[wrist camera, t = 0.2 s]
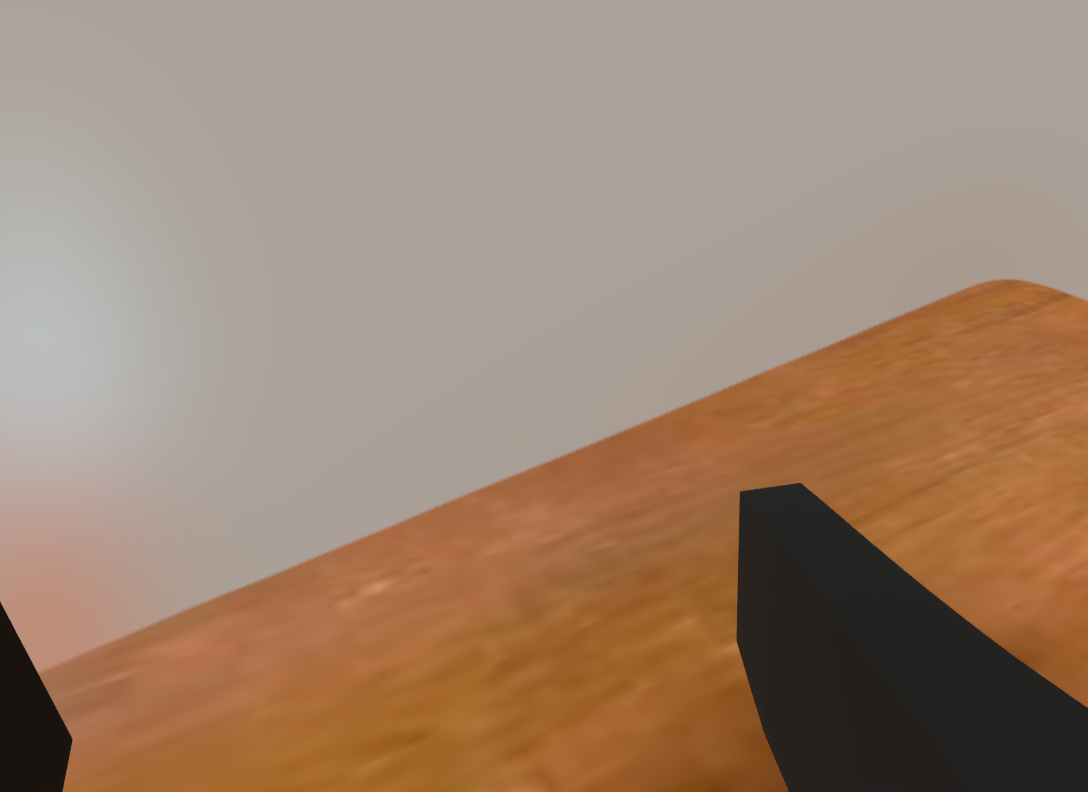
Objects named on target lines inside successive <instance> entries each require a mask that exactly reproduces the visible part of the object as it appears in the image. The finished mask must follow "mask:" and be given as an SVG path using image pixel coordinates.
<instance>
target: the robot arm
mask: <svg viewBox="0 0 1088 792" xmlns="http://www.w3.org/2000/svg"><path fill="white" fill-rule="evenodd" d="M737 643H738V647H739V650H740V654H741V657H742V660H743V664H744V667H745V671H746V674H747V678H748V681H749V684H750V688H751V691H752V695H753V698H754V701H755V704H756V707H757V711H758V714H759V717H760V720H761V724H762V727H763V730H764V733H765V736H766V738H767V741H768V743H769V745H770V748H771V750H772V752H773V755H774V757H775V760H776V762H777V764H778V767H779V769H780V771H781V774H782V776H783V778H784V781H785V783H786V785H787V788H788V790H789V792H1088V708H1087V707H1085V706H1084V705H1082V704H1081V703H1079V702H1078V701H1077V700H1075V699H1074V698H1072V697H1071V696H1069V695H1068V694H1067V693H1065V692H1064V691H1062V690H1061V689H1059V688H1058V687H1057V686H1055V685H1054V684H1052V683H1051V682H1050V681H1048V680H1047V679H1045V678H1044V677H1042V676H1041V675H1040V674H1038V673H1037V672H1035V671H1034V670H1033V669H1031V668H1030V667H1028V666H1027V665H1026V664H1024V663H1023V662H1021V661H1020V660H1018V659H1017V658H1016V657H1014V656H1013V655H1012V654H1010V653H1009V652H1008V651H1006V650H1005V649H1004V648H1002V647H1001V646H1000V645H998V644H997V643H996V642H994V641H993V640H992V639H990V638H989V637H987V636H986V635H985V634H984V633H982V632H981V631H980V630H978V629H977V628H976V627H975V626H973V625H972V624H971V623H970V622H968V621H967V620H966V619H964V618H963V617H962V616H961V615H959V614H958V613H957V612H956V611H954V610H953V609H952V608H950V607H949V606H948V605H947V604H945V603H944V602H943V601H942V600H940V599H939V598H938V597H936V596H935V595H934V594H933V593H931V592H930V591H929V590H928V589H926V588H925V587H924V586H923V585H921V584H920V583H919V582H918V581H917V580H915V579H914V578H913V577H912V576H910V575H909V574H908V573H907V572H906V571H904V570H903V569H902V568H901V567H899V566H898V565H897V564H896V563H895V562H894V561H892V560H891V559H890V558H889V557H888V556H886V555H885V554H884V553H883V552H882V551H880V550H879V549H878V548H877V547H876V546H874V545H873V544H872V543H871V542H870V541H869V540H867V539H866V538H865V537H864V536H863V535H862V534H860V533H859V532H858V531H857V530H856V529H854V528H853V527H852V526H851V525H850V524H849V523H847V522H846V521H845V520H844V519H843V518H842V517H840V516H839V515H838V514H837V513H836V512H835V511H833V510H832V509H831V508H830V507H829V506H828V505H826V504H825V503H824V502H823V501H822V500H821V499H819V498H818V497H817V496H816V495H815V494H813V493H812V492H811V491H810V490H808V489H807V488H806V487H805V486H804V485H802V484H801V483H797V484H790V485H783V486H776V487H769V488H762V489H755V490H748V491H740V514H739V558H738V602H737ZM72 740H73V739H72V737H71V735H70V733H69V732H68V730H67V728H66V726H65V724H64V722H63V720H62V718H61V716H60V714H59V713H58V711H57V709H56V707H55V705H54V703H53V701H52V699H51V697H50V695H49V694H48V692H47V690H46V688H45V686H44V684H43V682H42V680H41V678H40V676H39V675H38V673H37V671H36V669H35V667H34V665H33V663H32V661H31V660H30V658H29V656H28V654H27V652H26V650H25V648H24V646H23V644H22V642H21V640H20V639H19V637H18V635H17V633H16V631H15V629H14V627H13V625H12V623H11V621H10V620H9V618H8V616H7V614H6V612H5V610H4V608H3V606H2V604H1V602H0V792H62V791H63V786H64V781H65V775H66V770H67V765H68V760H69V755H70V750H71V745H72Z"/></svg>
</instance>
